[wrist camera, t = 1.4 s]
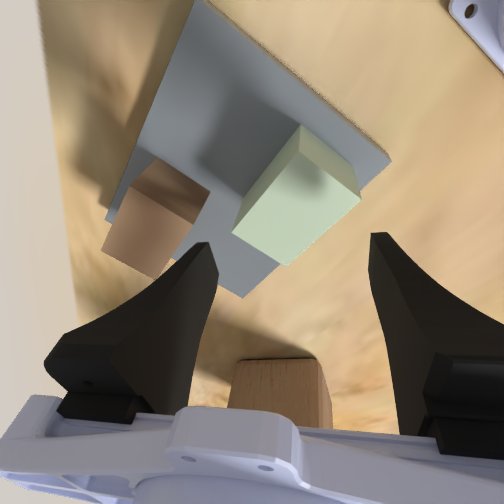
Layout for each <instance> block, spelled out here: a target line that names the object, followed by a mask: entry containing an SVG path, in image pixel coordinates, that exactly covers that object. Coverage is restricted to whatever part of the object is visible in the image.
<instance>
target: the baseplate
mask: <svg viewBox="0 0 504 504" xmlns="http://www.w3.org/2000/svg"><path fill="white" fill-rule="evenodd" d="M300 124H302V125H303V126H304V127H305V128H307V129H308V130H309V131H310V132H312V133H313V134H314V135H315V136H317V137H318V138H319V139H320V140H322V141H323V142H324V143H325V144H326V145H328V146H329V147H330V148H331V149H333V150H334V151H335V152H336V153H338V154H339V155H340V156H341V157H343V158H344V159H345V160H346V161H348V162H349V163H350V164H351V165H353V167H354V171H355V175H356V179H357V183H358V187H359V191H360V190H361V189H362V188H364V187H365V186H366V185H367V184H368V183H369V182H370V181H371V180H372V179H373V178H374V177H375V176H377V175H378V174H379V173H380V172H381V171H382V170H383V169H384V168H385V167H386V166H387V165H389V164H390V163H391V162H392V161H391V159H390V157H389V155H388V153H387V152H385V151H384V150H383V149H382V148H381V147H379V146H378V145H377V144H376V143H375V142H374V141H372V140H371V139H370V138H369V137H368V136H367V135H365V134H364V133H363V132H362V131H361V130H359V129H358V128H357V127H356V126H355V125H354V124H352V123H351V122H350V121H349V120H348V119H347V118H345V117H344V116H343V115H342V114H341V113H339V112H338V111H337V110H336V109H335V108H334V107H332V106H331V105H330V104H329V103H328V102H327V101H325V100H324V99H323V98H322V97H321V96H320V95H318V94H317V93H316V92H315V91H314V90H312V89H311V88H310V87H309V86H308V85H307V84H305V83H304V82H303V81H302V80H301V79H300V78H298V77H297V76H296V75H295V74H294V73H292V72H291V71H290V70H289V69H288V68H287V67H285V66H284V65H283V64H282V63H281V62H280V61H278V60H277V59H276V58H275V57H274V56H272V55H271V54H270V53H269V52H268V51H267V50H265V49H264V48H263V47H262V46H261V45H260V44H258V43H257V42H256V41H255V40H254V39H252V38H251V37H250V36H249V35H248V34H247V33H245V32H244V31H243V30H242V29H241V28H240V27H238V26H237V25H236V24H235V23H234V22H232V21H231V20H230V19H229V18H228V17H227V16H225V15H224V14H223V13H222V12H221V11H220V10H218V9H217V8H216V7H215V6H214V5H212V4H211V3H210V2H209V1H208V0H195V1H194V4H193V6H192V8H191V11H190V13H189V16H188V18H187V21H186V23H185V26H184V28H183V30H182V33H181V35H180V38H179V40H178V43H177V45H176V47H175V50H174V52H173V55H172V57H171V60H170V62H169V64H168V67H167V69H166V72H165V74H164V77H163V79H162V81H161V84H160V86H159V89H158V91H157V94H156V96H155V98H154V101H153V103H152V106H151V108H150V111H149V113H148V115H147V118H146V120H145V123H144V125H143V128H142V130H141V132H140V135H139V137H138V140H137V142H136V145H135V147H134V149H133V152H132V154H131V157H130V159H129V162H128V164H127V166H126V169H125V171H124V174H123V176H122V179H121V181H120V184H119V186H118V188H117V191H116V193H115V196H114V198H113V201H112V203H111V205H110V208H109V210H108V213H107V215H106V218H105V220H106V221H108V222H109V223H111V224H113V222H114V219H115V217H116V215H117V213H118V210H119V208H120V206H121V204H122V201H123V199H124V197H125V194H126V192H127V190H128V188H129V186H130V185H131V184H132V183H133V182H134V181H135V179H136V178H137V177H138V176H139V175H140V174H141V173H142V172H143V171H144V170H145V169H146V168H147V167H148V166H149V165H150V164H151V163H152V162H153V161H154V160H155V159H156V158H157V157H159V158H160V159H162V160H163V161H165V162H166V163H168V164H169V165H171V166H172V167H174V168H175V169H177V170H178V171H180V172H182V173H183V174H185V175H186V176H188V177H189V178H191V179H192V180H194V181H195V182H197V183H198V184H200V185H201V186H203V187H204V188H206V189H207V190H209V191H210V194H209V196H208V198H207V200H206V202H205V204H204V206H203V208H202V210H201V212H200V214H199V215H198V217H197V219H196V221H195V223H194V225H193V226H192V228H191V229H190V231H189V232H188V234H187V235H186V237H185V238H184V239H183V241H182V242H181V244H180V245H179V247H178V248H177V250H176V251H175V252H174V254H173V255H172V257H171V258H173V259H175V260H176V261H178V260H179V259H180V258H181V257H182V256H183V255H184V254H185V253H186V252H187V251H188V250H189V249H190V248H191V247H192V246H193V245H194V244H196V243H197V242H209V244H210V247H211V250H212V253H213V256H214V259H215V262H216V265H217V268H218V271H219V278H218V284H219V285H220V286H222V287H224V288H226V289H227V290H229V291H231V292H233V293H234V294H236V295H238V296H240V297H241V298H244V297H245V296H246V295H247V294H248V293H249V292H250V291H251V290H252V289H254V288H255V287H256V286H257V285H258V284H259V283H260V282H261V281H262V280H263V279H264V278H266V277H267V276H268V275H269V274H270V273H271V272H272V271H273V270H274V269H275V268H276V267H278V266H279V265H280V263H279V262H277V261H276V260H274V259H273V258H271V257H269V256H268V255H266V254H265V253H263V252H261V251H260V250H258V249H257V248H255V247H253V246H252V245H250V244H249V243H247V242H246V241H244V240H242V239H241V238H239V237H238V236H236V235H234V234H233V233H231V232H232V229H233V226H234V223H235V220H236V217H237V215H238V212H239V209H240V206H241V203H242V200H243V198H244V196H245V195H246V194H247V192H248V191H249V190H250V189H251V187H252V186H253V185H254V184H255V182H256V181H257V180H258V178H259V177H260V176H261V175H262V173H263V172H264V171H265V169H266V168H267V167H268V166H269V164H270V163H271V162H272V160H273V159H274V158H275V157H276V155H277V154H278V153H279V151H280V150H281V149H282V148H283V146H284V145H285V144H286V142H287V141H288V140H289V139H290V137H291V136H292V135H293V133H294V132H295V131H296V130H297V128H298V127H299V126H300Z"/></svg>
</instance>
